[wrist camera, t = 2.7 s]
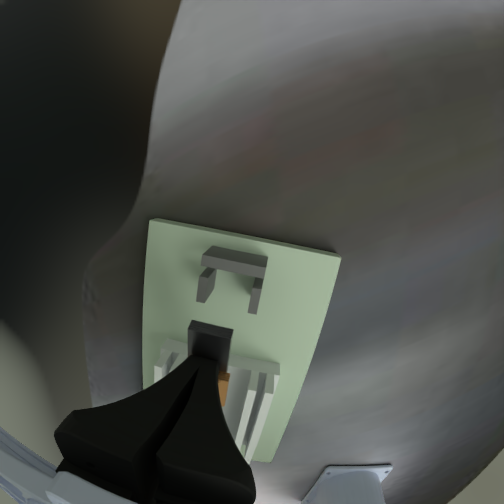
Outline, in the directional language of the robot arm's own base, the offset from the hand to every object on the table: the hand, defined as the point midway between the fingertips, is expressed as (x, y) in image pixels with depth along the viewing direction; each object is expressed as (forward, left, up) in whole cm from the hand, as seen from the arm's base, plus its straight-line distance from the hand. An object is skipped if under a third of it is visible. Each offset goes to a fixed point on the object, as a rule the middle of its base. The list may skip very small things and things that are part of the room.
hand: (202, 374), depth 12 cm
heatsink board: (-5, 0, -8) cm, 9 cm away
